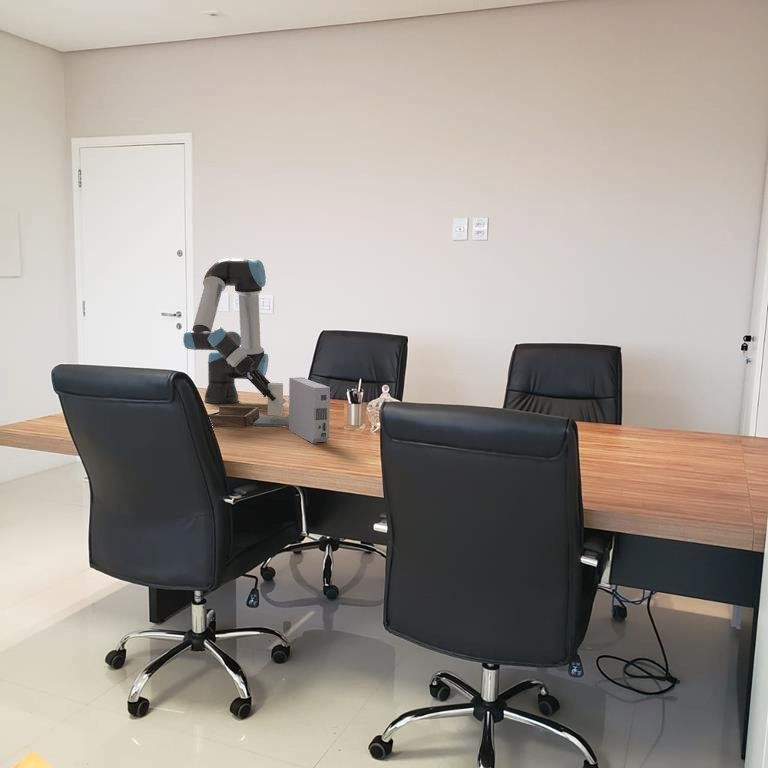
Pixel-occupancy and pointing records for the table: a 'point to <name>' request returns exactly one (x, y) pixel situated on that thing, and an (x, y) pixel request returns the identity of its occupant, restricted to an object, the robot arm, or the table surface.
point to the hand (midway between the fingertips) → (282, 404)
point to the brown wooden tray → (235, 416)
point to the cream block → (278, 391)
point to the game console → (309, 409)
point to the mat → (272, 421)
